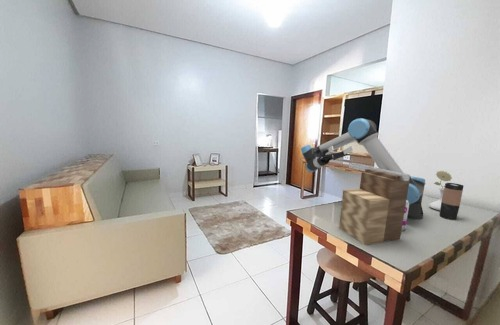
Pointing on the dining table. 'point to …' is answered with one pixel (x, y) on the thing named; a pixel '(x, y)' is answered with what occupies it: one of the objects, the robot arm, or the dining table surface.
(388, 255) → the dining table surface
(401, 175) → the clear long thin bar
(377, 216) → the walnut stand
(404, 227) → the supplement can
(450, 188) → the travel mug
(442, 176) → the flower in vase
